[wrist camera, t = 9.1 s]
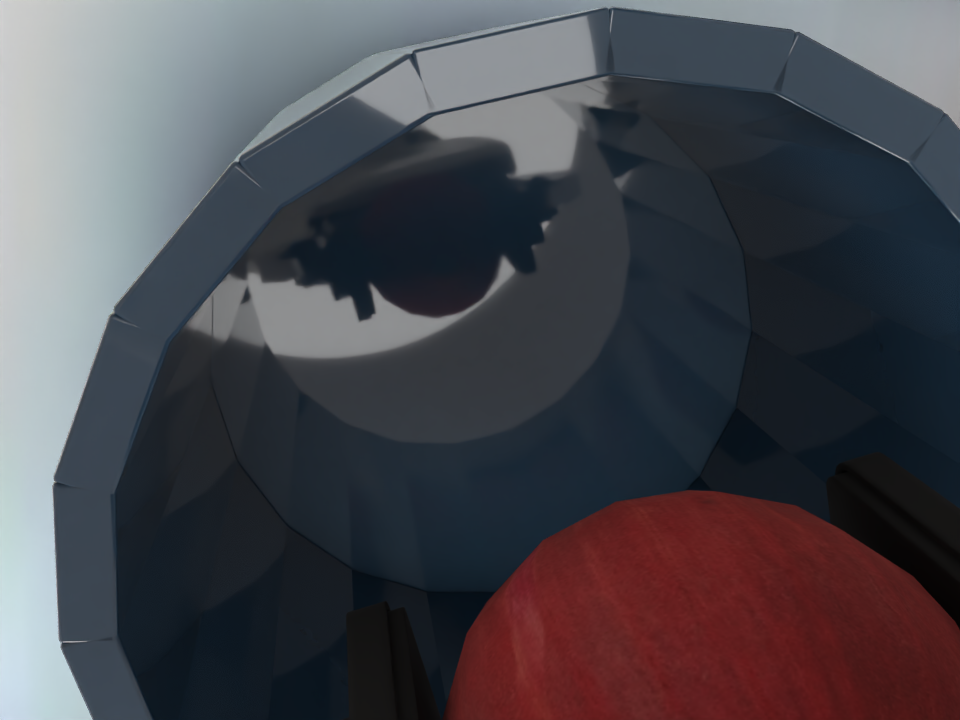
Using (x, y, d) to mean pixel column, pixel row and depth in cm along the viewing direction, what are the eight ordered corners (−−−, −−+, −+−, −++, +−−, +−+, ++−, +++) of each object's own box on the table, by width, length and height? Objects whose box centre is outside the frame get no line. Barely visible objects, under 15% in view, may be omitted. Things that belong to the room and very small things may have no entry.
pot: (45, 254, 21) (-224, 439, 11) (613, -96, 21) (892, -247, 10) (392, 695, 27) (431, 1095, 16) (848, 426, 26) (1184, 663, 16)
